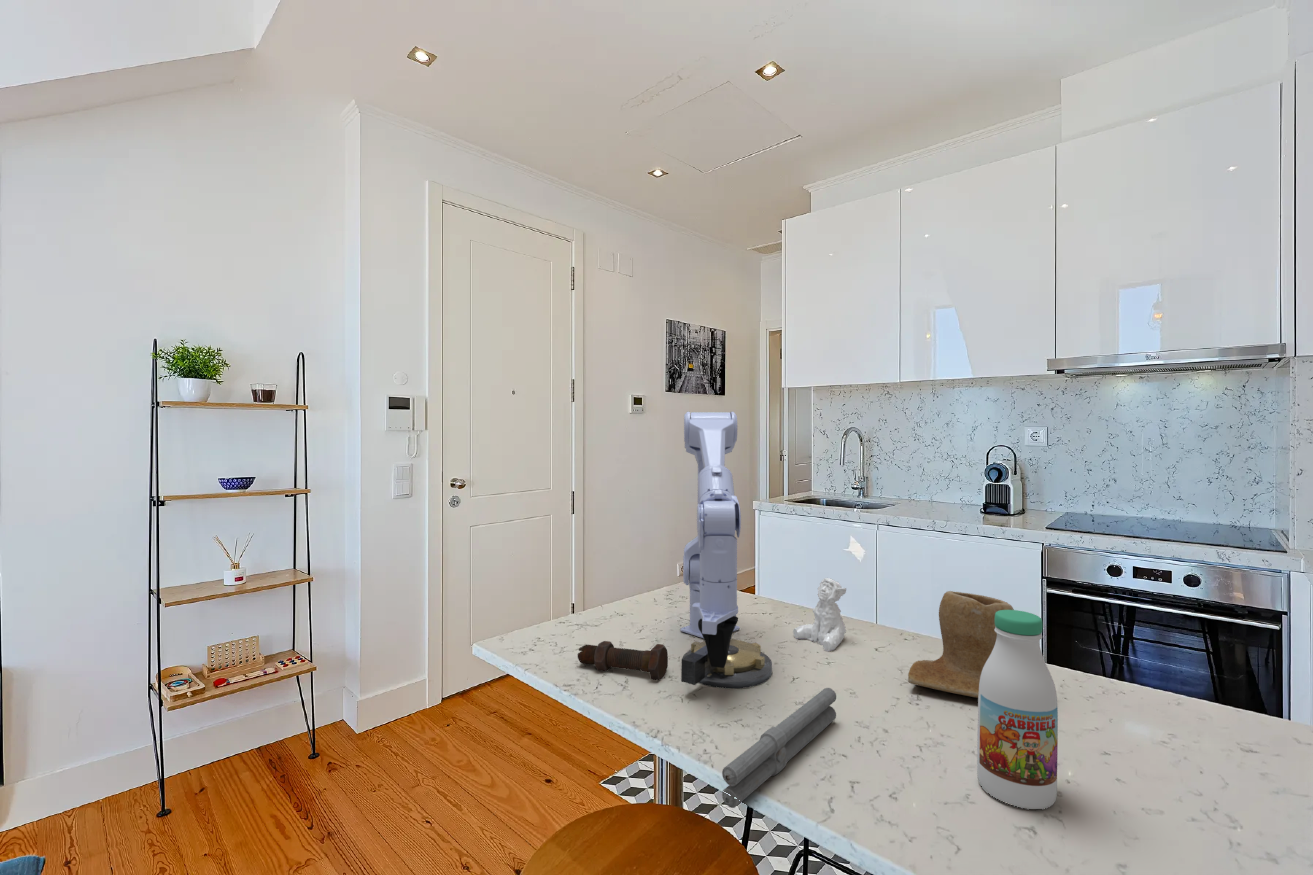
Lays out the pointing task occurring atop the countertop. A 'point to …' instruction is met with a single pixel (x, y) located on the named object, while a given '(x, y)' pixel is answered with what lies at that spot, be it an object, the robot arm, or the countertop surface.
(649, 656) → the bolt
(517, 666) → the countertop surface
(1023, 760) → the milk bottle
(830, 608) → the seated beast figurine
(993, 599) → the brown boot
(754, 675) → the disc
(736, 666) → the brass turntable dial
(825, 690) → the metal rod assembly
